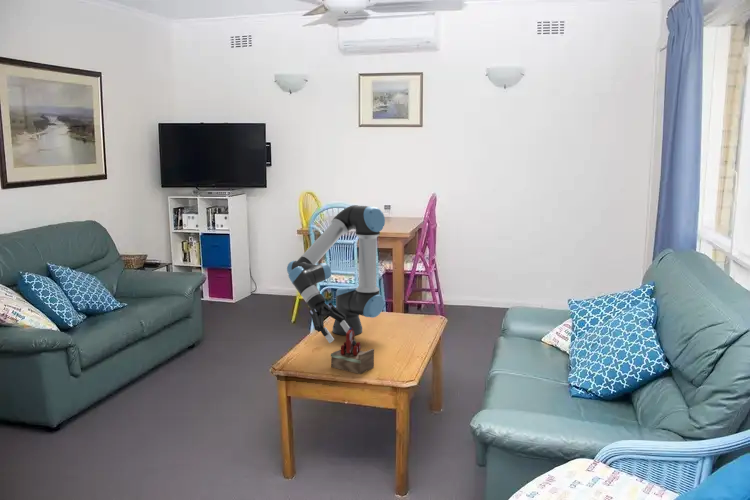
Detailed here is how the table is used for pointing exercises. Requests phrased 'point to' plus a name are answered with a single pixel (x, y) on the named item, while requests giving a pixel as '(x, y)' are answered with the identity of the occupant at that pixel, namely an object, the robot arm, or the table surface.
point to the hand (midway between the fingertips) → (341, 337)
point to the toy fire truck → (350, 344)
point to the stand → (353, 361)
